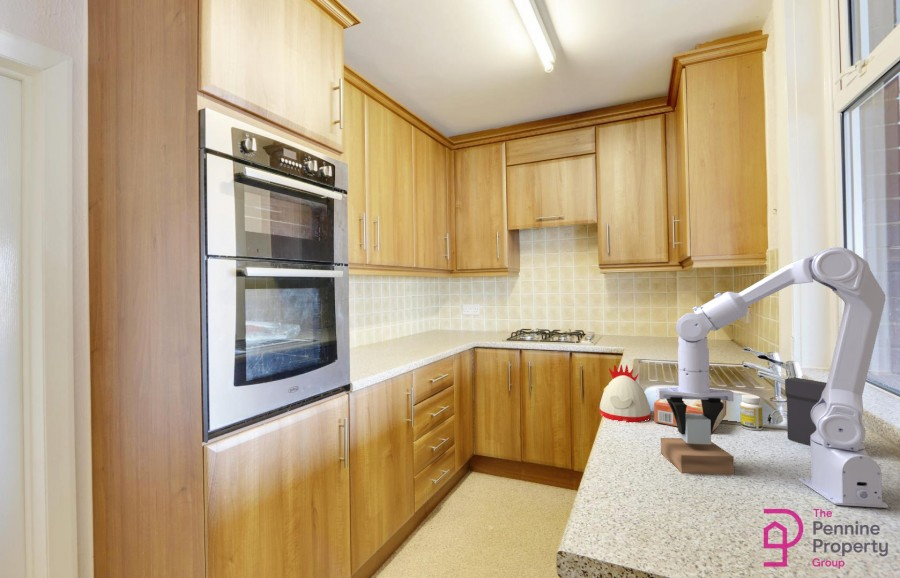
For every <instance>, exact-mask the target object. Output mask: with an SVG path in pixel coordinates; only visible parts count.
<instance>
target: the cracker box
mask: <svg viewBox="0 0 900 578" xmlns="http://www.w3.org/2000/svg"><path fill="white" fill-rule="evenodd" d="M682 401H684V403H685V404H686V405H687V408H686V413H691V414H702V415H703V409H702V403H701V400H699V399H682ZM721 402H722V403H724V407H723V409H722V411H721V412H720V413H719V415H718V417H717V419H716V421H715V424H714V427H713V430H712V433H713V432H714V431H715V430H716V429H717V427H718V426H719V425H720V424H721V422H722V421H723V419H724V418H725V417H726V416H727V400H721ZM653 410H654V411H653V416H654V417H653V419H654V420H653V421H654V423H659V424H663V425H668V426H674V427H677V423H676V420H675V417H674V414H673V412H672V409H671V407H670V405H669V404H668V402H667V399H658V398H657V399H656V400H655V401H654V402H653Z"/></svg>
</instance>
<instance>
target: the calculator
mask: <svg viewBox="0 0 900 578" xmlns="http://www.w3.org/2000/svg"><path fill="white" fill-rule="evenodd" d="M826 384H827V382H825V381H818V380H812V379H806V378H801V377H789V378H785V379H784V393H785V396H786V418H787V419H786V420H787V423H786V425H787V428H786V429H787V431H786V432H787V439H788V440H789V441H793V442H795V443H799V444H802V445H806V446H809V447H811V441H810V439H811V438H810V435H811V434H813V433H814V432H815V431H816V429H817V428H816V425H815V424H814V423H813V421H812V419H811V410H812V408H813V406H814V405H816V404H817V403H818V402H819V401H820V399H821V395H822V392H823V390H824V388H825V387H826Z"/></svg>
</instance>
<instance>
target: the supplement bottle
mask: <svg viewBox="0 0 900 578" xmlns="http://www.w3.org/2000/svg"><path fill="white" fill-rule="evenodd" d="M739 409H740V410H739V412H740V414H739V415H740V427H741V428H743V429H745V430H749V431H762V430H763V429H764V428H763V424H764V423H763V406H762V404H761V397H760V396H759V395H756V394H755V395H754V394H741V402H740V404H739Z"/></svg>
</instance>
